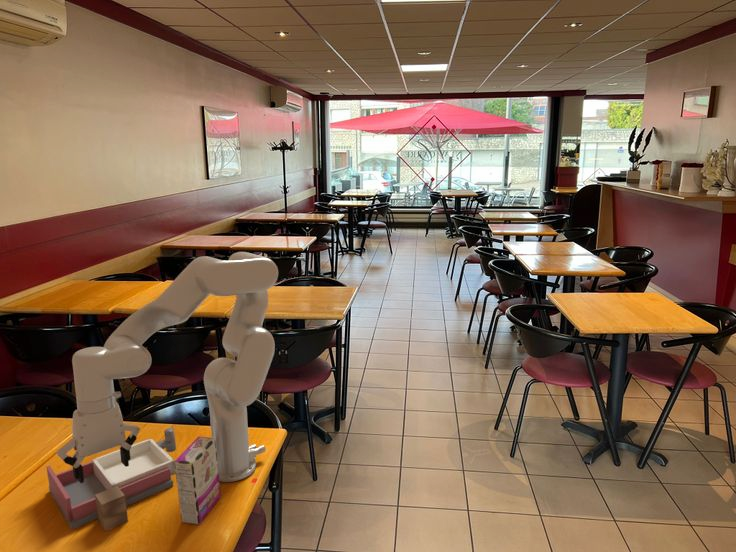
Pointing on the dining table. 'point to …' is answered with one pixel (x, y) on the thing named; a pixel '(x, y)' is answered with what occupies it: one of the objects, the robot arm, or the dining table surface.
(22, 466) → the dining table surface
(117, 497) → the walnut block
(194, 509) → the candy bar box
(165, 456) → the white tray
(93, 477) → the bay
